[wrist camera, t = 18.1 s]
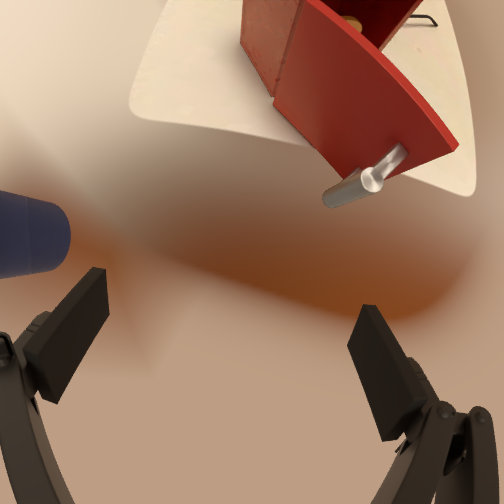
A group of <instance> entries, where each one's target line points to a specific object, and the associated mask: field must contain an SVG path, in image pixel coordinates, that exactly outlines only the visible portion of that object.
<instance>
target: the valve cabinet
mask: <svg viewBox="0 0 504 504" xmlns="http://www.w3.org/2000/svg"><path fill="white" fill-rule="evenodd" d="M320 1H321V2H323V3H324V4H325V5H327V6H328V7H329V8H331V9H332V10H333V11H334V12H336V13H337V14H338V15H339V16H341V17H342V18H343V19H344V20H346V21H347V22H348V23H349V24H350V25H352V26H353V27H354V28H355V29H356V30H357V31H359V32H360V33H361V34H362V35H363V36H364V37H365V38H366V39H368V40H369V41H370V42H371V43H372V44H373V45H374V46H375V47H376V48H377V49H378V50H379V51H380V52H381V51H382V50H383V49H384V47H385V46H386V45H387V44H388V42H389V41H390V40H391V39H392V38H393V36H394V35H395V34H396V33H397V31H398V30H399V29H400V28H401V27H402V25H403V24H404V23H405V22H406V20H407V19H408V18H409V17H410V16H411V14H412V13H413V12H414V11H415V10H416V8H417V7H418V6H419V5H420V4H421V2H422V1H423V0H320ZM304 3H305V0H243V6H242V22H241V37H240V43H241V45H242V47H243V48H244V50H245V52H246V53H247V55H248V57H249V58H250V60H251V62H252V63H253V65H254V67H255V68H256V70H257V72H258V74H259V75H260V77H261V79H262V81H263V82H264V84H265V86H266V88H267V90H268V91H269V93H270V95H271V97H273V96H275V95H276V91H277V88H278V85H279V82H280V78H281V75H282V72H283V69H284V66H285V62H286V59H287V56H288V53H289V50H290V46H291V43H292V40H293V37H294V34H295V31H296V28H297V24H298V21H299V18H300V15H301V12H302V9H303V6H304Z"/></svg>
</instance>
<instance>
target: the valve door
mask: <svg viewBox="0 0 504 504" xmlns="http://www.w3.org/2000/svg"><path fill="white" fill-rule="evenodd" d="M273 105H274V106H275V107H276V108H277V109H278V110H279V111H280V112H281V113H282V114H283V115H284V116H285V117H286V118H287V119H288V120H289V121H290V122H291V123H292V124H293V125H294V126H295V127H296V128H297V129H298V130H299V131H300V132H301V133H302V134H303V135H304V137H305V138H306V139H307V140H308V141H309V142H310V143H311V144H312V145H313V146H314V147H315V148H316V149H317V150H318V151H319V153H321V155H322V156H323V157H324V158H325V159H326V160H327V161H328V163H329V164H330V165H331V166H332V167H333V168H334V169H335V170H336V172H337V173H338V174H339V175H340V176H341V177H342V178H343V180H342V181H341V182H340V183H339V184H337V185H335V186H333V187H332V188H330V189H328V190H326V191H325V192H324V194H323V202H324V204H325V205H326V206H327V207H329V208H335V207H338V206H341V205H344V204H346V203H349V202H352V201H355V200H357V199H360V198H363V197H366V196H369V195H372V194H374V193H377V192H379V191H380V190H381V189H382V188H383V185H384V180H386V179H388V178H391V177H393V176H395V175H398V174H400V173H403V172H405V171H407V170H410V169H412V168H415V167H417V166H419V165H422V164H424V163H427V162H429V161H432V160H434V159H437V158H439V157H441V156H444V155H446V154H449V153H451V152H454V151H455V149H456V148H457V147H458V146H459V143H458V142H457V140H456V139H455V137H454V136H453V135H452V133H451V132H450V130H449V129H448V128H447V126H446V125H445V124H444V122H443V121H442V120H441V119H440V117H439V116H438V115H437V113H436V112H435V111H434V110H433V108H432V107H431V106H430V105H429V103H428V102H427V101H426V100H425V99H424V97H423V96H422V95H421V94H420V93H419V92H418V91H417V89H416V88H415V87H414V86H413V85H412V84H411V83H410V81H409V80H408V79H407V78H406V77H405V76H404V75H403V74H402V73H401V72H400V71H399V70H398V69H397V68H396V67H395V66H394V64H393V63H392V62H391V61H390V60H389V59H388V58H387V57H386V56H385V55H384V54H382V53H381V52H380V51H379V50H378V49H377V48H376V47H375V46H374V45H373V44H372V43H371V42H370V41H369V40H368V39H366V38H365V37H364V36H363V35H362V34H361V33H360V32H359V31H357V30H356V29H355V28H354V27H353V26H352V25H350V24H349V23H348V22H347V21H346V20H344V19H343V18H342V17H341V16H339V15H338V14H337V13H336V12H334V11H333V10H332V9H331V8H329V7H328V6H327V5H325V4H324V3H323V2H321V1H320V0H305V3H304V6H303V9H302V12H301V15H300V18H299V21H298V24H297V28H296V31H295V34H294V37H293V40H292V43H291V46H290V50H289V53H288V56H287V59H286V62H285V66H284V69H283V72H282V75H281V78H280V82H279V85H278V88H277V91H276V95H275V98H274V101H273Z"/></svg>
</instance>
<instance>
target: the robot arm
mask: <svg viewBox="0 0 504 504" xmlns="http://www.w3.org/2000/svg"><path fill="white" fill-rule="evenodd" d="M108 316H109V304H108V293H107V281H106V269H101V268H96V267H92V268H91V269H90V270H89V272H87V274H86V275H85V276H84V277H83V278H82V279H81V280H80V281H79V282H78V283H77V284H76V286H75V287H74V288H73V289H72V290H71V291H70V292H69V293H68V294H67V295H66V297H65V298H64V299H63V300H62V301H61V302H60V303H59V305H58V306H57V307H56V308H55V309H54V310H53V312H52V313H51V312H48V311H45V312H43V313H41V314H40V315H38V316H36V318H35V319H34V320H33V321H32V322H31V325H29V326H28V327H27V328H26V330H24V331H23V333H22V334H21V335H20V336H19V338H18V339H17V340H16V341H15V342H14V344H12V341H11V338H10V336H9V335H8V334H7V333H5V332H0V446H1V451H2V455H3V459H4V463H5V467H6V470H7V474H8V477H9V481H10V484H11V487H12V490H13V493H14V496H15V499H16V502H17V504H75V503H74V501H73V499H72V497H71V495H70V492H69V490H68V488H67V486H66V484H65V481H64V479H63V477H62V474H61V472H60V470H59V467H58V465H57V462H56V460H55V457H54V454H53V452H52V449H51V446H50V443H49V441H48V438H47V435H46V432H45V429H44V425H43V422H42V419H41V416H40V412H39V409H38V405H37V401H36V399H35V397H34V395H35V394H36V392H37V390H38V391H39V393H40V395H41V397H42V399H44V400H47V401H49V402H52V403H55V404H58V402H59V400H60V398H61V396H62V394H63V392H64V391H65V389H66V387H67V385H68V383H69V382H70V380H71V378H72V376H73V374H74V373H75V371H76V369H77V367H78V366H79V364H80V362H81V361H82V359H83V357H84V355H85V354H86V352H87V350H88V349H89V347H90V345H91V344H92V342H93V340H94V338H95V337H96V335H97V334H98V332H99V330H100V329H101V327H102V326H103V324H104V322H105V321H106V319H107V318H108ZM347 347H348V349H349V352H350V355H351V357H352V360H353V362H354V365H355V367H356V370H357V373H358V375H359V378H360V381H361V383H362V386H363V389H364V391H365V394H366V397H367V400H368V402H369V405H370V408H371V411H372V414H373V416H374V419H375V422H376V425H377V428H378V431H379V434H380V436H381V440H382V442H384V441H392V440H397V439H398V438H399V437H400V436H401V434H402V433H403V432H404V433H405V435H406V439H405V440H404V441H403V442H402V444H401V445H400V446H399V447H398V448H397V449H396V451H395V452H396V453H397V452H398V451H399V452H398V454H397V456H396V458H395V460H394V462H393V464H392V466H391V468H390V470H389V472H388V474H387V476H386V477H385V479H384V481H383V483H382V485H381V487H380V488H379V490H378V492H377V494H376V496H375V497H374V499H373V500H372V502H371V504H431V502H432V499H433V497H434V494H435V492H436V496H435V503H434V504H499V475H498V461H497V451H496V442H495V435H494V428H493V421H492V417H491V415H490V413H489V412H488V411H487V410H486V409H485V408H483V407H480V406H475V407H473V408H472V409H471V411H470V412H469V413H468V414H465V413H459V412H456V410H455V409H454V407H453V406H452V405H451V404H449V403H448V402H445V401H440V400H439V398H438V397H437V395H436V393H435V391H434V389H433V388H432V386H431V384H430V382H429V381H428V380H427V377H426V375H425V374H424V372H423V370H422V368H421V367H420V365H419V364H418V363H417V362H416V361H415V360H414V359H413V358H411V357H406V355H405V353H404V352H403V350H402V348H401V346H400V345H399V343H398V341H397V340H396V338H395V336H394V335H393V333H392V331H391V330H390V328H389V326H388V325H387V323H386V321H385V320H384V318H383V316H382V315H381V313H380V311H379V310H378V308H377V307H376V305H365V304H363V306H362V309H361V311H360V314H359V317H358V320H357V322H356V325H355V327H354V329H353V332H352V335H351V337H350V340H349V342H348V344H347Z"/></svg>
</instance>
